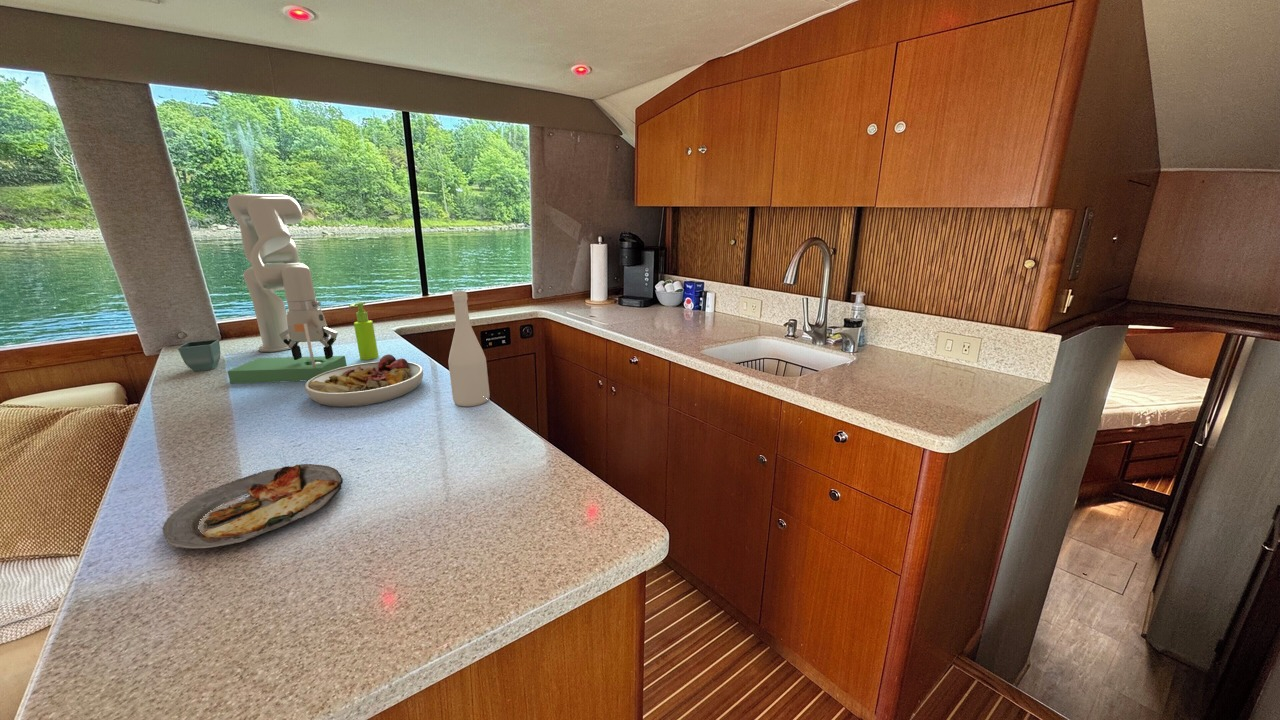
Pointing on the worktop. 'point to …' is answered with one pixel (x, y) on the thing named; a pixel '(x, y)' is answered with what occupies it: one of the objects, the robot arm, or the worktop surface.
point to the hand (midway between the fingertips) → (313, 358)
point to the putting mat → (285, 366)
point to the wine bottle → (466, 359)
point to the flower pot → (201, 354)
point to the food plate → (253, 505)
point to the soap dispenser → (365, 334)
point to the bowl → (365, 382)
